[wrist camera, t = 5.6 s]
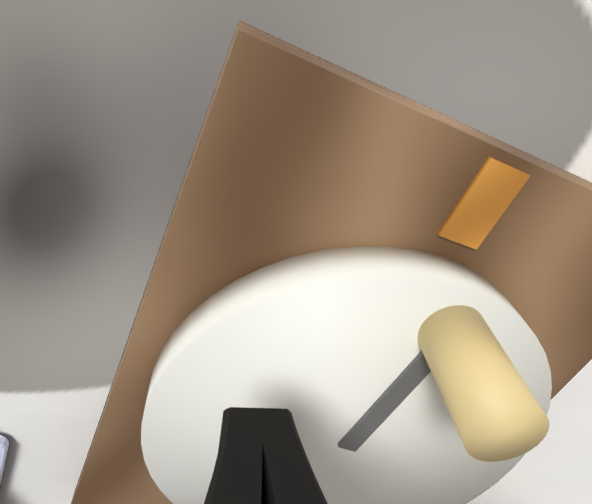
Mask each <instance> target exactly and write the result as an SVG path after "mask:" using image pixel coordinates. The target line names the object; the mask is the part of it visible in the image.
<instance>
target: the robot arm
mask: <svg viewBox="0 0 592 504" xmlns="http://www.w3.org/2000/svg"><path fill="white" fill-rule="evenodd" d="M8 447H9V441H8V440H7V439H6V437H4V436H2V435H0V483H1V479H2V474H3V470H4V465H5V460H6V456H7V451H8ZM204 504H328V503H327V501H326V499H325V497H324V495H323V492H322V490H321V488H320V486H319V484H318V481H317V479H316V477H315V475H314V472H313V470H312V468H311V465H310V463H309V460H308V458H307V455H306V453H305V450H304V448H303V445H302V443H301V440H300V437H299V434H298V431H297V429H296V426H295V423H294V420H293V416H292V413H291V412H290V411H289V410H288V409H281V408H242V407H229V408H227V409H225V410H224V411H223V417H222V425H221V432H220V440H219V448H218V455H217V459H216V463H215V467H214V471H213V475H212V478H211V481H210V485H209V488H208V491H207V495H206V498H205V501H204Z"/></svg>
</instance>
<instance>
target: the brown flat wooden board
mask: <svg viewBox="0 0 592 504" xmlns="http://www.w3.org/2000/svg"><path fill="white" fill-rule="evenodd" d="M353 246H386V247H395V248H404V249H413V250H417V251H421V252H425V253H430V254H434V255H438V256H441V257H444V258H446V259H449V260H451V261H454V262H457V263H459V264H462V265H464V266H466V267H467V268H469V269H471V270H473V271H474V272H476V273H478V274H480V275H481V276H483V277H485V278H486V279H487V280H488V281H489V282H491V283H492V284H493V285H494V286H496V287H497V288H498V289H499V290H500V291H501V292H502V293H503V294H504V295H505V296H506V298H507V299H508V300H509V301H510V302H511V303H512V305H513V306H514V307H515V309H516V310H517V311H518V313H519V314H520V315H521V317H522V318H523V319H524V321H525V322H526V323H527V325H528V326H529V327H530V329H531V330H532V331H533V333H534V334H535V335H536V337H537V338H538V340H539V342H540V344H541V346H542V348H543V349H544V351H545V353H546V356H547V360H548V363H549V367H550V370H551V382H552V391H551V399H552V398H553V397H554V396H555V395H556V394H557V393H558V392H559V391H560V390H561V389H562V388H563V387H564V386H565V385H566V384H567V383H568V382H569V381H570V380H571V379H572V378H573V377H574V376H575V375H576V374H577V373H578V372H579V371H580V370H581V369H582V368H583V367H584V366H585V365H586V364H587V363H588V362H589V361H590V360H591V359H592V183H591V182H589V181H586V180H584V179H582V178H580V177H578V176H576V175H573V174H571V173H569V172H567V171H565V170H563V169H560V168H558V167H556V166H554V165H552V164H549V163H547V162H545V161H543V160H541V159H539V158H537V157H534V156H532V155H530V154H528V153H526V152H523V151H521V150H519V149H517V148H515V147H513V146H510V145H508V144H506V143H504V142H502V141H500V140H497V139H495V138H493V137H491V136H489V135H487V134H484V133H482V132H480V131H478V130H476V129H474V128H471V127H469V126H467V125H465V124H463V123H461V122H458V121H456V120H454V119H452V118H450V117H448V116H445V115H443V114H441V113H439V112H437V111H435V110H432V109H430V108H428V107H426V106H424V105H422V104H419V103H417V102H415V101H413V100H411V99H409V98H406V97H404V96H402V95H400V94H398V93H396V92H393V91H391V90H389V89H387V88H385V87H383V86H380V85H378V84H376V83H374V82H371V81H369V80H367V79H365V78H363V77H361V76H359V75H357V74H354V73H352V72H350V71H348V70H346V69H344V68H341V67H339V66H337V65H335V64H333V63H330V62H328V61H326V60H324V59H322V58H320V57H317V56H315V55H313V54H311V53H309V52H307V51H304V50H302V49H300V48H298V47H296V46H294V45H291V44H289V43H287V42H285V41H283V40H281V39H278V38H276V37H274V36H272V35H270V34H268V33H265V32H263V31H261V30H259V29H256V28H254V27H252V26H250V25H248V24H246V23H244V22H241V21H238V24H237V27H236V30H235V33H234V36H233V38H232V41H231V44H230V47H229V50H228V53H227V56H226V58H225V61H224V64H223V67H222V70H221V73H220V76H219V78H218V82H217V84H216V87H215V90H214V93H213V96H212V99H211V101H210V105H209V107H208V110H207V113H206V116H205V119H204V122H203V124H202V128H201V131H200V133H199V136H198V139H197V142H196V145H195V147H194V150H193V154H192V156H191V159H190V162H189V165H188V168H187V170H186V173H185V176H184V179H183V182H182V185H181V188H180V191H179V193H178V196H177V199H176V202H175V205H174V208H173V211H172V213H171V216H170V219H169V222H168V225H167V228H166V231H165V234H164V237H163V239H162V242H161V245H160V248H159V251H158V254H157V257H156V259H155V262H154V265H153V268H152V271H151V274H150V277H149V280H148V282H147V285H146V288H145V291H144V294H143V297H142V300H141V303H140V305H139V308H138V311H137V314H136V317H135V320H134V323H133V326H132V328H131V331H130V334H129V337H128V340H127V343H126V346H125V349H124V352H123V354H122V357H121V360H120V363H119V366H118V369H117V372H116V374H115V378H114V380H113V383H112V386H111V389H110V392H109V394H108V397H107V400H106V403H105V406H104V409H103V412H102V415H101V417H100V420H99V423H98V426H97V429H96V432H95V435H94V438H93V440H92V443H91V446H90V449H89V452H88V455H87V458H86V461H85V463H84V466H83V469H82V472H81V475H80V478H79V481H78V483H77V486H76V489H75V492H74V496H73V499H72V502H71V504H173V503H172V502H171V501H170V500H169V499H168V498H167V497H166V496H165V495H164V494H163V493H162V492H161V491H160V489H159V488H158V486H157V485H156V483H155V482H154V480H153V479H152V477H151V476H150V473H149V471H148V468H147V466H146V463H145V461H144V457H143V452H142V446H141V424H142V419H143V414H144V409H145V404H146V399H147V394H148V389H149V384H150V380H151V376H152V372H153V368H154V366H155V364H156V361H157V359H158V357H159V355H160V352H161V350H162V348H163V347H164V345H165V344H166V342H167V341H168V339H169V338H170V336H171V335H172V333H173V332H174V331H175V329H176V328H177V327H178V326H179V325H180V324H181V323H182V322H183V321H184V320H185V319H186V317H187V316H188V315H189V314H190V313H191V312H192V311H193V310H195V309H196V308H197V307H198V306H199V305H201V304H202V303H203V302H204V301H205V300H207V299H208V298H209V297H210V296H212V295H213V294H215V293H216V292H218V291H219V290H221V289H223V288H224V287H226V286H227V285H229V284H230V283H232V282H234V281H235V280H237V279H239V278H241V277H243V276H245V275H248V274H250V273H252V272H254V271H256V270H258V269H260V268H262V267H265V266H268V265H271V264H273V263H276V262H279V261H282V260H285V259H288V258H291V257H294V256H299V255H303V254H307V253H312V252H316V251H321V250H327V249H336V248H344V247H353ZM551 399H550V400H551Z"/></svg>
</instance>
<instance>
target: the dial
mask: <svg viewBox="0 0 592 504" xmlns="http://www.w3.org/2000/svg"><path fill="white" fill-rule="evenodd" d="M551 391H552V382H551V370H550V367H549V363H548V360H547V356H546V353H545V351H544V349H543V348H542V346H541V344H540V342H539V340H538V338H537V337H536V335H535V334H534V333H533V331H532V330H531V329H530V327H529V326H528V325H527V323H526V322H525V321H524V319H523V318H522V317H521V315H520V314H519V313H518V311H517V310H516V309H515V307H514V306H513V305H512V303H511V302H510V301H509V300H508V299H507V298H506V296H505V295H504V294H503V293H502V292H501V291H500V290H499V289H498V288H497V287H496V286H494V285H493V284H492V283H491V282H489V281H488V280H487V279H486V278H485V277H483V276H481V275H480V274H478V273H476V272H474V271H473V270H471V269H469V268H467V267H466V266H464V265H462V264H459V263H457V262H454V261H451V260H449V259H446V258H444V257H441V256H438V255H434V254H430V253H425V252H421V251H417V250H413V249H404V248H395V247H386V246H353V247H344V248H336V249H327V250H321V251H316V252H312V253H307V254H303V255H299V256H294V257H291V258H288V259H285V260H282V261H279V262H276V263H273V264H271V265H268V266H265V267H262V268H260V269H258V270H256V271H254V272H252V273H250V274H248V275H245V276H243V277H241V278H239V279H237V280H235V281H234V282H232V283H230V284H229V285H227V286H226V287H224V288H223V289H221V290H219V291H218V292H216V293H215V294H213V295H212V296H210V297H209V298H208V299H207V300H205V301H204V302H203V303H202V304H201V305H199V306H198V307H197V308H196V309H195V310H193V311H192V312H191V313H190V314H189V315H188V316H187V317H186V319H185V320H184V321H183V322H182V323H181V324H180V325H179V326H178V327H177V328H176V329H175V331H174V332H173V333H172V335H171V336H170V338H169V339H168V341H167V342H166V344H165V345H164V347H163V348H162V350H161V352H160V355H159V357H158V359H157V361H156V364H155V366H154V368H153V372H152V376H151V380H150V384H149V389H148V394H147V399H146V404H145V409H144V414H143V419H142V424H141V446H142V452H143V457H144V461H145V463H146V466H147V468H148V471H149V473H150V476H151V477H152V479H153V480H154V482H155V483H156V485H157V486H158V488H159V489H160V491H161V492H162V493H163V494H164V495H165V496H166V497H167V498H168V499H169V500H170V501H171V502H172V503H173V504H204V501H205V498H206V495H207V491H208V488H209V485H210V481H211V478H212V475H213V471H214V467H215V463H216V459H217V455H218V448H219V440H220V432H221V425H222V417H223V411H224V410H225V409H227V408H229V407H242V408H281V409H288V410H289V411H290V412H291V413H292V416H293V420H294V423H295V426H296V429H297V431H298V434H299V437H300V440H301V443H302V445H303V448H304V450H305V453H306V455H307V458H308V460H309V463H310V465H311V468H312V470H313V472H314V475H315V477H316V479H317V481H318V484H319V486H320V488H321V490H322V492H323V495H324V497H325V499H326V501H327V503H328V504H466V503H468V502H469V501H471V500H472V499H474V498H476V497H477V496H479V495H480V494H482V493H483V492H485V491H486V490H487V489H489V488H490V487H491V486H493V485H494V484H495V483H497V482H498V481H499V480H500V479H501V478H502V477H503V476H504V475H506V474H507V473H508V472H509V471H510V470H511V469H512V468H513V467H514V466H515V465H516V464H517V463H518V461H519V460H520V459H521V458H522V457H523V456H524V455H525V453H526V452H528V451H530V450H531V449H533V448H534V447H535V446H537V445H538V444H539V443H540V442H541V441H542V440H543V439H544V437H545V436H546V434H547V432H548V429H549V420H548V418H547V416H546V415H547V412H548V409H549V406H550V399H551Z"/></svg>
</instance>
